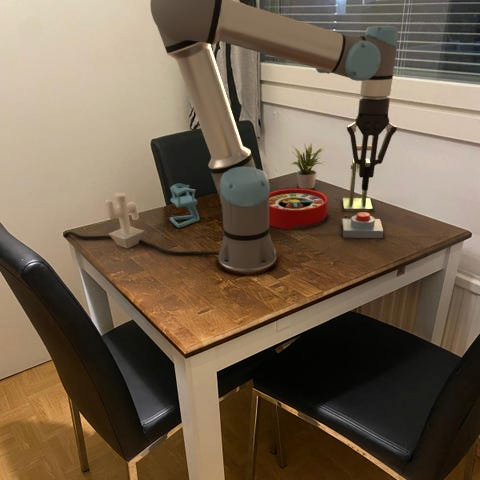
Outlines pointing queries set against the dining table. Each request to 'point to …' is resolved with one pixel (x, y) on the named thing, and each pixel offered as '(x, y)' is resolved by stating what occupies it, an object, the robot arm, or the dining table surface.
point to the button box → (362, 228)
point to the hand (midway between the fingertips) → (364, 188)
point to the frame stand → (351, 201)
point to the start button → (363, 216)
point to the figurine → (124, 221)
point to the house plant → (307, 167)
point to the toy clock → (296, 207)
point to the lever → (360, 150)
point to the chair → (184, 204)
